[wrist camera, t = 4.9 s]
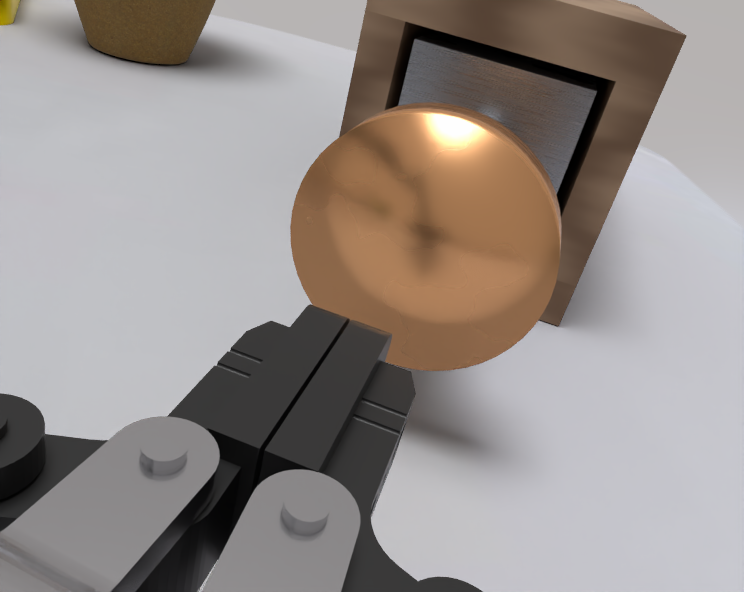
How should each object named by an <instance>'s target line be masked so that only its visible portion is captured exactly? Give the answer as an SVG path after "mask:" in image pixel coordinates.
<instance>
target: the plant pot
mask: <svg viewBox="0 0 744 592" xmlns="http://www.w3.org/2000/svg"><path fill="white" fill-rule="evenodd" d="M74 1H75V4H76V7H77V10H78V13H79V16H80V19H81V22H82V25H83V28H84V31H85V34H86V36H87V39H88V42H89V44H90V45H91V46H92V47H94V48H95V49H97V50H99V51H102V52H104V53H107V54H110V55H113V56H117V57H120V58H124V59H128V60H133V61H139V62H145V63H154V64H181V63H184V62H186V61H187V60H188V58H189V56H190V54H191V52H192V50H193V48H194V46H195V44H196V42H197V40H198V38H199V36H200V34H201V32H202V30H203V28H204V26H205V23H206V21H207V19H208V17H209V15H210V12H211V10H212V8H213V5H214V3H215V0H74Z"/></svg>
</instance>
